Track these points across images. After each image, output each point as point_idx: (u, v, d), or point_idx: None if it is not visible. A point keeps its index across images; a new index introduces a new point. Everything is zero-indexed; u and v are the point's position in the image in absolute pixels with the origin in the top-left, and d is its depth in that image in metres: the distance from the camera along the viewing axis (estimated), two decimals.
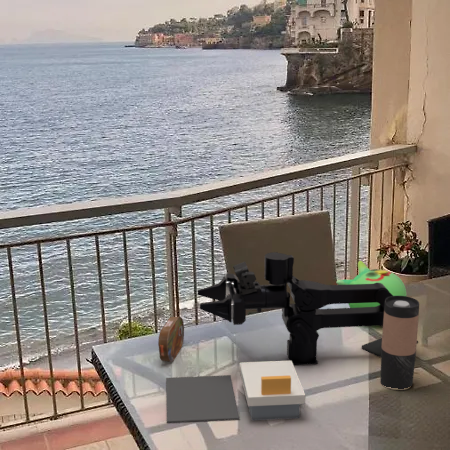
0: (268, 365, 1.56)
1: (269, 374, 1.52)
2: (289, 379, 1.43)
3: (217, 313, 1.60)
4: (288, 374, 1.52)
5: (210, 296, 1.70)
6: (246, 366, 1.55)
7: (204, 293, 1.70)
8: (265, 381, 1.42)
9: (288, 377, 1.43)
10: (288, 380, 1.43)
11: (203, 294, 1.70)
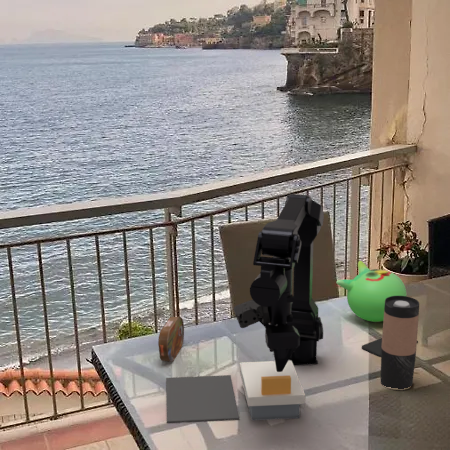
0: (268, 365, 1.56)
1: (269, 374, 1.52)
2: (289, 379, 1.43)
3: (287, 356, 1.36)
4: (288, 374, 1.52)
5: None
6: (246, 366, 1.55)
7: None
8: (265, 381, 1.42)
9: (288, 377, 1.43)
10: (288, 380, 1.43)
11: None
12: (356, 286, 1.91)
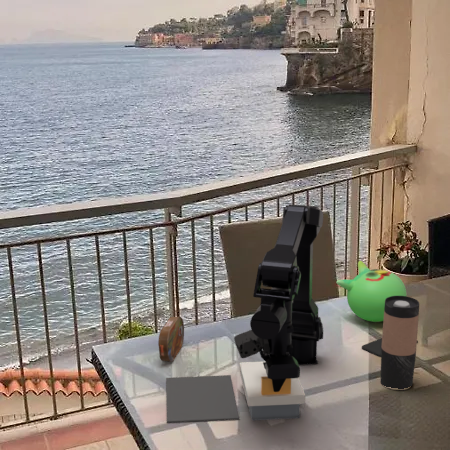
0: None
1: None
2: (289, 379, 1.43)
3: None
4: None
5: None
6: (246, 366, 1.55)
7: None
8: (265, 381, 1.42)
9: None
10: (288, 380, 1.43)
11: None
12: (356, 286, 1.91)
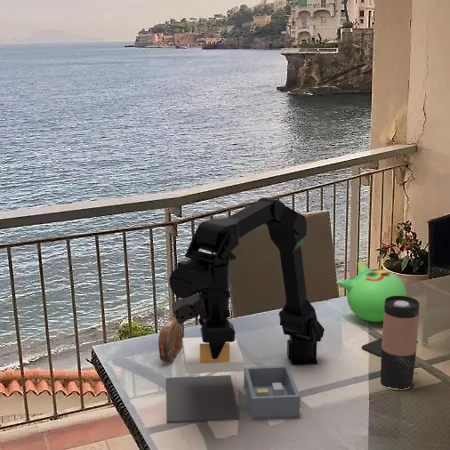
0: None
1: None
2: (227, 346, 1.42)
3: (222, 343, 1.40)
4: (230, 346, 1.51)
5: None
6: (188, 340, 1.55)
7: None
8: (203, 348, 1.42)
9: (227, 344, 1.42)
10: (226, 347, 1.42)
11: None
12: (356, 287, 1.91)
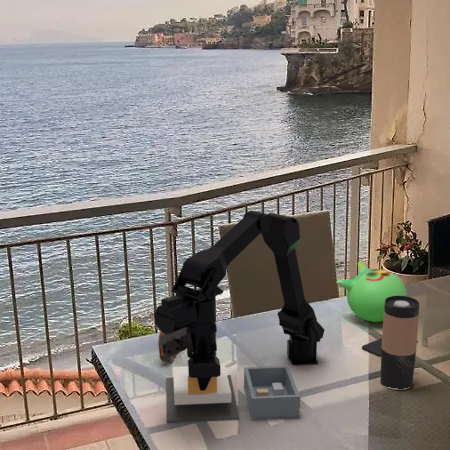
0: None
1: None
2: (215, 377, 1.45)
3: None
4: (219, 376, 1.53)
5: None
6: (179, 370, 1.57)
7: None
8: (191, 380, 1.44)
9: None
10: (214, 378, 1.45)
11: None
12: (356, 286, 1.91)
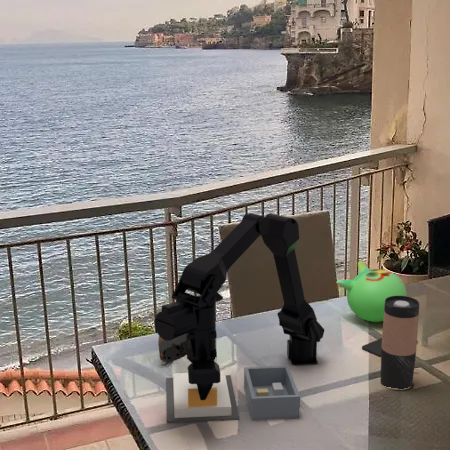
0: None
1: None
2: (215, 391, 1.45)
3: (209, 385, 1.41)
4: (219, 386, 1.54)
5: None
6: (179, 377, 1.57)
7: None
8: (191, 393, 1.44)
9: (214, 389, 1.45)
10: (214, 392, 1.45)
11: None
12: (356, 287, 1.91)
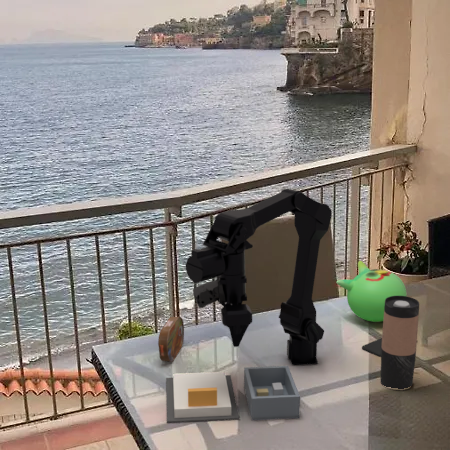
0: (200, 376, 1.58)
1: (200, 385, 1.54)
2: (215, 391, 1.45)
3: (242, 332, 1.48)
4: (219, 386, 1.54)
5: None
6: (179, 377, 1.57)
7: None
8: (191, 393, 1.44)
9: (214, 389, 1.45)
10: (214, 392, 1.45)
11: None
12: (356, 286, 1.91)
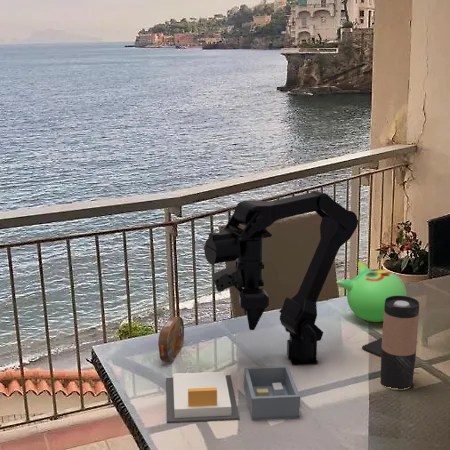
0: (200, 376, 1.58)
1: (200, 385, 1.54)
2: (215, 391, 1.45)
3: (258, 315, 1.55)
4: (219, 386, 1.54)
5: None
6: (179, 377, 1.57)
7: None
8: (191, 393, 1.44)
9: (214, 389, 1.45)
10: (214, 392, 1.45)
11: None
12: (356, 287, 1.91)
